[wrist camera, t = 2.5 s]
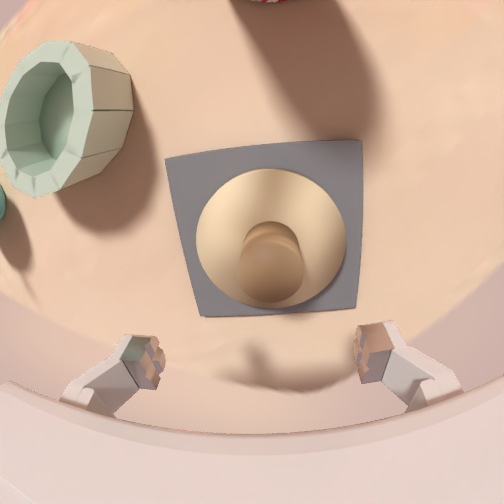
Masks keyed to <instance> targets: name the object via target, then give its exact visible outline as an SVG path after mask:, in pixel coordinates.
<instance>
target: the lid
mask: <svg viewBox="0 0 504 504" xmlns="http://www.w3.org/2000/svg"><path fill="white" fill-rule="evenodd" d="M196 246H197V253H198V256H199V260H200V262H201V265H202V267H203V269H204V271H205V272H206V274H207V276H208V277H209V278H210V280H211V281H212V282H213V283H214V284H215V285H216V286H217V287H218V288H219V289H220V290H221V291H223V292H224V293H225V294H226V295H228V296H230V297H231V298H233V299H235V300H237V301H239V302H242V303H244V304H247V305H251V306H255V307H261V308H282V307H288V306H293V305H296V304H299V303H302V302H304V301H306V300H308V299H310V298H312V297H313V296H315V295H317V294H318V293H319V292H320V291H322V290H323V289H324V288H325V287H326V286H327V285H328V284H329V283H330V282H331V281H332V279H333V278H334V277H335V275H336V274H337V272H338V270H339V268H340V266H341V264H342V261H343V258H344V254H345V248H346V231H345V226H344V222H343V219H342V216H341V214H340V212H339V210H338V208H337V206H336V205H335V203H334V202H333V201H332V199H331V198H330V196H329V195H328V194H327V193H326V192H325V191H324V189H323V188H322V187H321V186H319V185H318V184H317V183H316V182H314V181H313V180H311V179H310V178H308V177H306V176H304V175H302V174H300V173H297V172H295V171H291V170H287V169H281V168H261V169H255V170H251V171H248V172H244V173H242V174H240V175H238V176H236V177H234V178H232V179H231V180H229V181H228V182H226V183H225V184H224V185H223V186H221V187H220V188H219V189H218V190H217V192H216V193H215V194H214V195H213V196H212V197H211V199H210V200H209V201H208V203H207V204H206V206H205V207H204V209H203V211H202V214H201V216H200V218H199V222H198V225H197V232H196Z"/></svg>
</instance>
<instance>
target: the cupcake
mask: <svg viewBox="0 0 504 504" xmlns="http://www.w3.org/2000/svg"><path fill="white" fill-rule="evenodd" d="M5 208H6V202H5V196H4V192H3V189H2V187H1V185H0V220H1V219H2V217H3V216H4V214H5Z"/></svg>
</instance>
